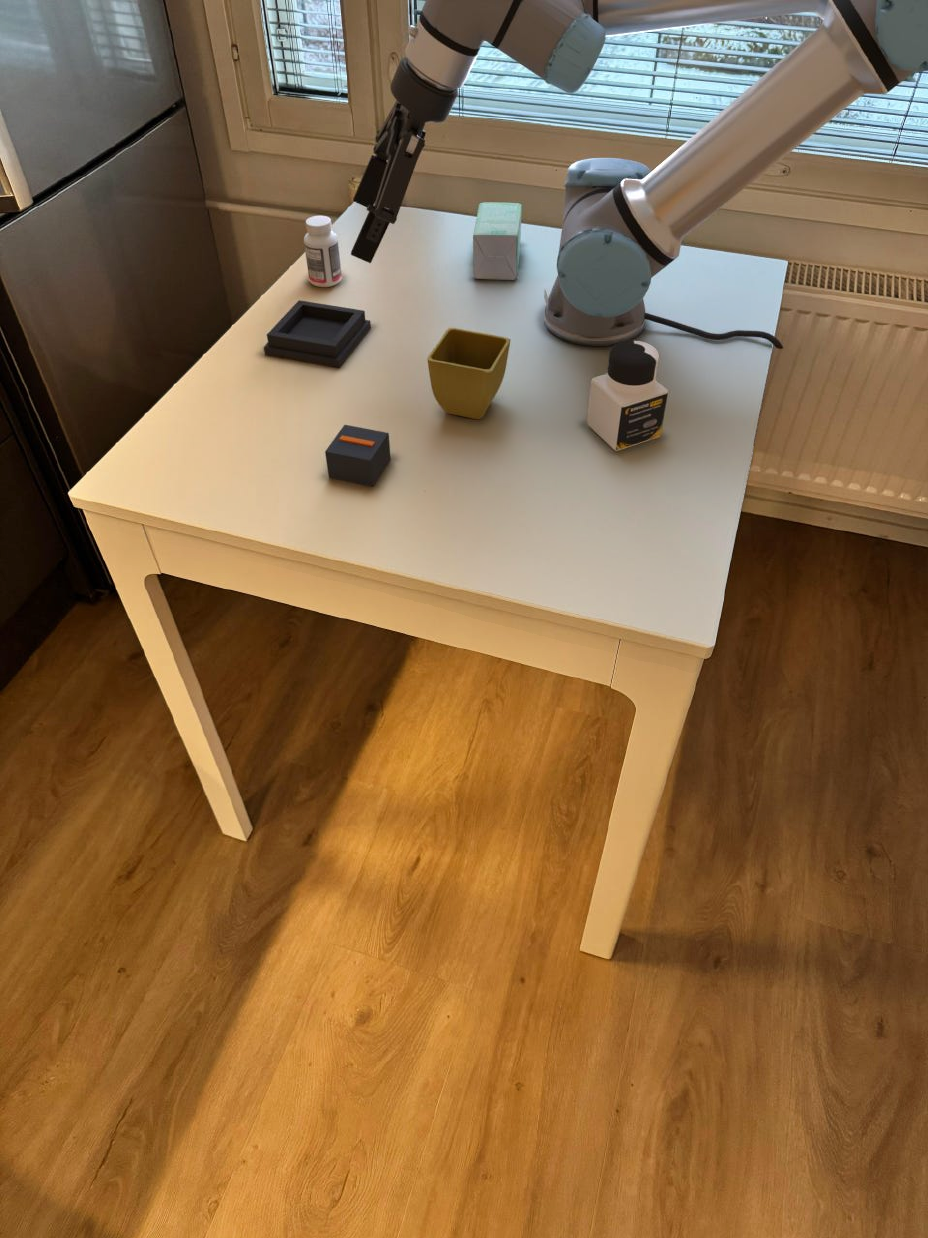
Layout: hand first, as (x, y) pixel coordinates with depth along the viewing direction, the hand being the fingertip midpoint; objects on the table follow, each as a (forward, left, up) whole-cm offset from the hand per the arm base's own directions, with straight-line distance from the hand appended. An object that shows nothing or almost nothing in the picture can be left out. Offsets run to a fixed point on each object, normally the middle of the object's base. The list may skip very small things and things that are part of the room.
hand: (361, 230), depth 120 cm
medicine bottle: (-39, +7, -19) cm, 44 cm away
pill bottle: (+16, -20, -19) cm, 31 cm away
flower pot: (-18, +8, -19) cm, 27 cm away
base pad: (+9, -2, -18) cm, 21 cm away
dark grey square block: (-9, +25, -18) cm, 33 cm away
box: (-9, -35, -19) cm, 40 cm away
